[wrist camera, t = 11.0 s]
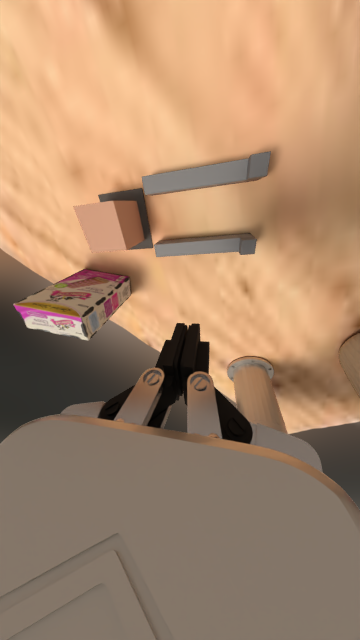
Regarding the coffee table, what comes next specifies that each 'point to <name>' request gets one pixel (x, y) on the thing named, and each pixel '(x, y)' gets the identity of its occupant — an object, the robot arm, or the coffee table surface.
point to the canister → (351, 360)
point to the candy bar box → (75, 304)
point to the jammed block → (110, 225)
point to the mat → (138, 196)
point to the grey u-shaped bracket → (206, 178)
